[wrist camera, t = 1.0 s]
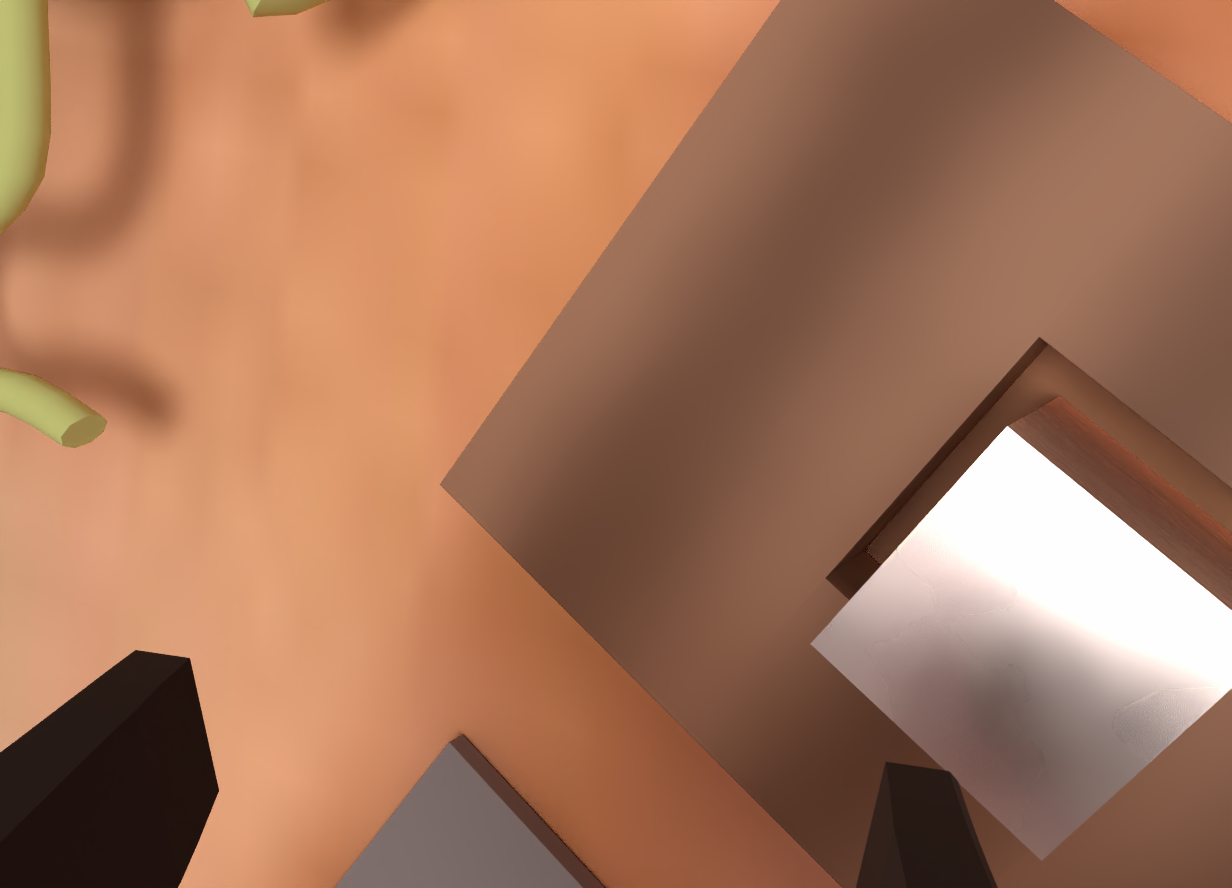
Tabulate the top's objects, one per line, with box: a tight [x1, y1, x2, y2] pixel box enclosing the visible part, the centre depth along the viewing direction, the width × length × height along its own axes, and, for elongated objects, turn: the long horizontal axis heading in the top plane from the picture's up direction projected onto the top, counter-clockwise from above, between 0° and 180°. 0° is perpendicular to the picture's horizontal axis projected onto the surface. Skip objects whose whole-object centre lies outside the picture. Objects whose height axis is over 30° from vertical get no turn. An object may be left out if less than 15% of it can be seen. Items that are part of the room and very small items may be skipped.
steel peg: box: [811, 396, 1232, 861], centre depth 19 cm, size 4×4×8 cm
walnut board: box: [440, 0, 1232, 888], centre depth 21 cm, size 20×14×3 cm
